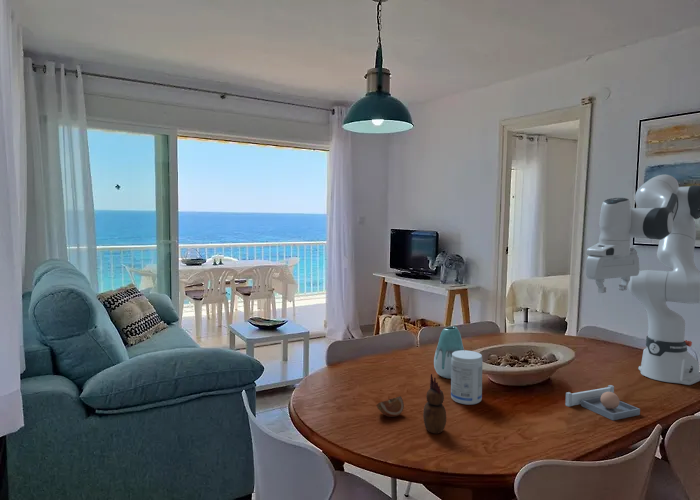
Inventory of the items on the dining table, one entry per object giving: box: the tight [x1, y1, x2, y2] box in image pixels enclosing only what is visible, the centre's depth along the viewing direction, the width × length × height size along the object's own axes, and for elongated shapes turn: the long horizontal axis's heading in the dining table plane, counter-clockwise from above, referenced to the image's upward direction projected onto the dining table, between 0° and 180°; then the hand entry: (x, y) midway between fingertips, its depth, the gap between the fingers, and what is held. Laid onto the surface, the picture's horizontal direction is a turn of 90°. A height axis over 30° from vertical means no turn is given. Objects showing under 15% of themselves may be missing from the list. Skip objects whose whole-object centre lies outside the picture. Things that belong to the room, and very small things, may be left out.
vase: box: [433, 326, 465, 380], centre depth 168 cm, size 12×12×18 cm
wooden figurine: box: [422, 373, 447, 434], centre depth 124 cm, size 7×6×15 cm
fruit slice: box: [376, 395, 405, 418], centre depth 134 cm, size 8×7×5 cm
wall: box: [565, 384, 615, 407], centre depth 145 cm, size 19×1×4 cm, turn 112°
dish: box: [580, 397, 641, 421], centre depth 139 cm, size 11×11×2 cm
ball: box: [601, 392, 621, 409], centre depth 139 cm, size 5×5×5 cm
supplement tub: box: [450, 349, 483, 406], centre depth 146 cm, size 10×10×15 cm
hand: (612, 291), depth 149 cm, fingers open, 8 cm apart
